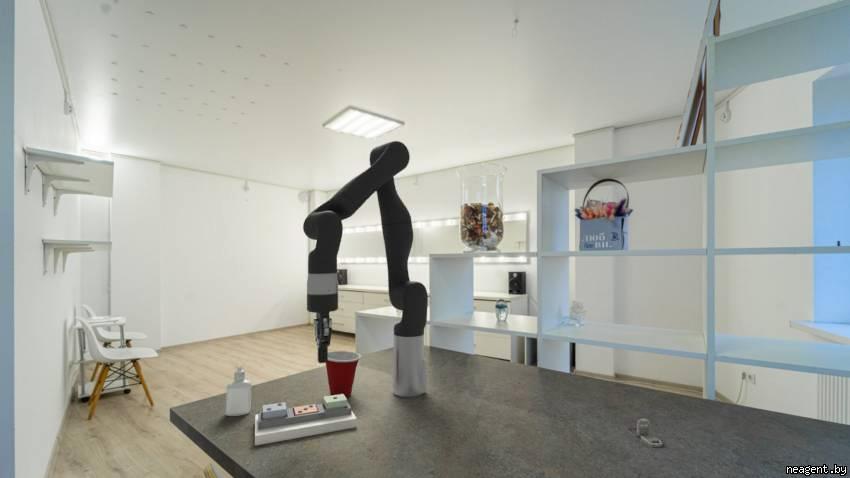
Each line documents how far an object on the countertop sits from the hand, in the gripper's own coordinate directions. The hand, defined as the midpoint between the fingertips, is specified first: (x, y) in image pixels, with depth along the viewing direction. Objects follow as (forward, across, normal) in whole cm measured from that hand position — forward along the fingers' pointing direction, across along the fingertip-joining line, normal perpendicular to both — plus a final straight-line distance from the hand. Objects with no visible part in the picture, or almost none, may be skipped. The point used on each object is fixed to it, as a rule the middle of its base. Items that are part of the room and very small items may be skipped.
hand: (322, 362), depth 92 cm
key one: (+11, 0, -3) cm, 11 cm away
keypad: (+14, 0, +4) cm, 15 cm away
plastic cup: (+15, +16, -8) cm, 23 cm away
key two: (+10, 0, +11) cm, 15 cm away
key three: (+12, 0, +4) cm, 13 cm away
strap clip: (+16, -37, -65) cm, 77 cm away
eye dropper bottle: (+14, +14, +19) cm, 28 cm away
